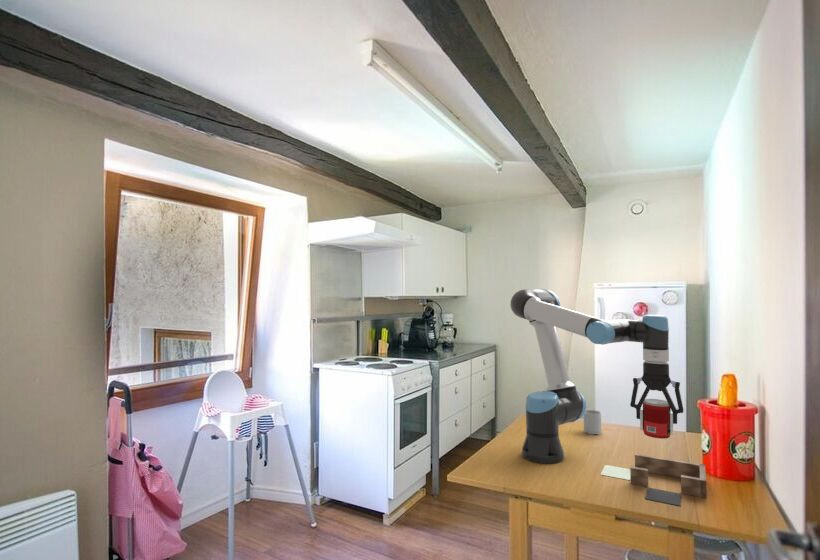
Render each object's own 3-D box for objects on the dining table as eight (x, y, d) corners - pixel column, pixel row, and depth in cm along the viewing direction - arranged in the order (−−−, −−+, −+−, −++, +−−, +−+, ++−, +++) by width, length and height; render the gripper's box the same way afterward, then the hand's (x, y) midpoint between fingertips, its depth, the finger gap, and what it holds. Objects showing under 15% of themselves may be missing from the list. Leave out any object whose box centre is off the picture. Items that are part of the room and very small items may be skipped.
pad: (600, 474, 153) (600, 474, 153) (605, 465, 162) (605, 464, 162) (629, 480, 149) (629, 479, 149) (633, 470, 157) (633, 469, 157)
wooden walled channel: (630, 483, 146) (630, 467, 146) (635, 468, 159) (635, 453, 159) (706, 498, 136) (706, 481, 136) (705, 480, 148) (704, 464, 148)
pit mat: (645, 499, 135) (645, 498, 135) (647, 487, 143) (647, 487, 143) (680, 506, 130) (680, 505, 130) (681, 494, 138) (681, 493, 138)
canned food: (674, 439, 145) (674, 405, 145) (647, 438, 146) (646, 403, 147) (665, 432, 152) (665, 399, 153) (640, 430, 154) (639, 398, 154)
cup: (581, 432, 200) (580, 412, 201) (591, 427, 207) (591, 407, 207) (597, 436, 195) (596, 415, 195) (607, 431, 202) (606, 410, 202)
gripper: (619, 360, 152) (620, 429, 152) (693, 366, 141) (694, 439, 141) (622, 357, 159) (623, 423, 158) (692, 362, 148) (693, 433, 147)
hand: (656, 431), depth 149 cm, fingers closed on canned food, 8 cm apart
